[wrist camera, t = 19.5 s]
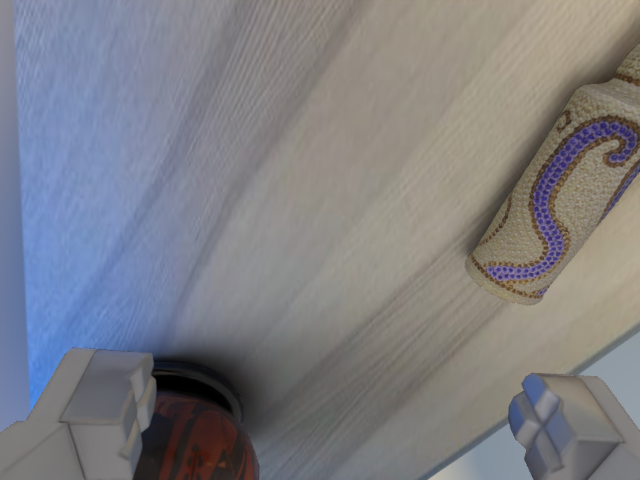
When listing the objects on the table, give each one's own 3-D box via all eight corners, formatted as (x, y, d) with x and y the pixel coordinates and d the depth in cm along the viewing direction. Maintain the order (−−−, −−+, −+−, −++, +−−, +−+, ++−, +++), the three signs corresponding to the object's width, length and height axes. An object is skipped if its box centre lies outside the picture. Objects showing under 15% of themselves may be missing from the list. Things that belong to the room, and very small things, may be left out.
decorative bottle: (518, 272, 44) (549, 318, 38) (453, 253, 42) (476, 298, 37) (724, -2, 31) (818, 7, 25) (641, -45, 29) (722, -45, 23)
